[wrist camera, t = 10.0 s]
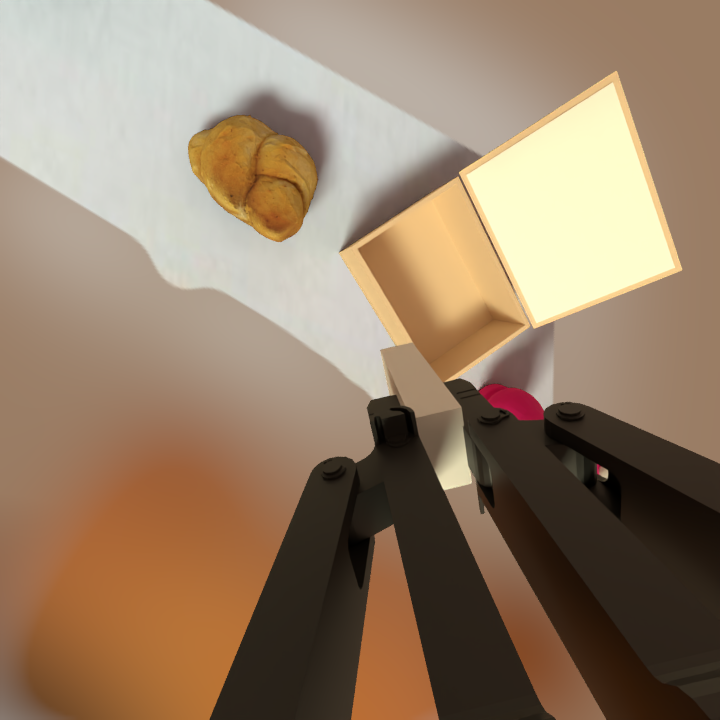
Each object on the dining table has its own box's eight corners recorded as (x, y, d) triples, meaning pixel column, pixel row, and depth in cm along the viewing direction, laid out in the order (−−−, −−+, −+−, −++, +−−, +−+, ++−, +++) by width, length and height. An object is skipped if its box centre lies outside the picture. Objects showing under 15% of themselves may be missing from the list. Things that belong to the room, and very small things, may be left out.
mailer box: (338, 252, 43) (350, 247, 36) (430, 192, 44) (458, 176, 37) (414, 376, 48) (437, 391, 41) (495, 320, 49) (530, 326, 42)
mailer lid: (617, 70, 30) (614, 71, 31) (458, 172, 37) (459, 171, 37) (683, 270, 36) (679, 268, 36) (534, 329, 42) (533, 326, 43)
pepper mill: (457, 415, 51) (567, 495, 31) (487, 370, 50) (617, 423, 31) (495, 439, 53) (621, 527, 34) (524, 396, 52) (668, 460, 33)
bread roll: (175, 179, 38) (150, 153, 31) (227, 97, 38) (214, 50, 30) (283, 255, 42) (285, 249, 34) (332, 182, 42) (344, 159, 34)
